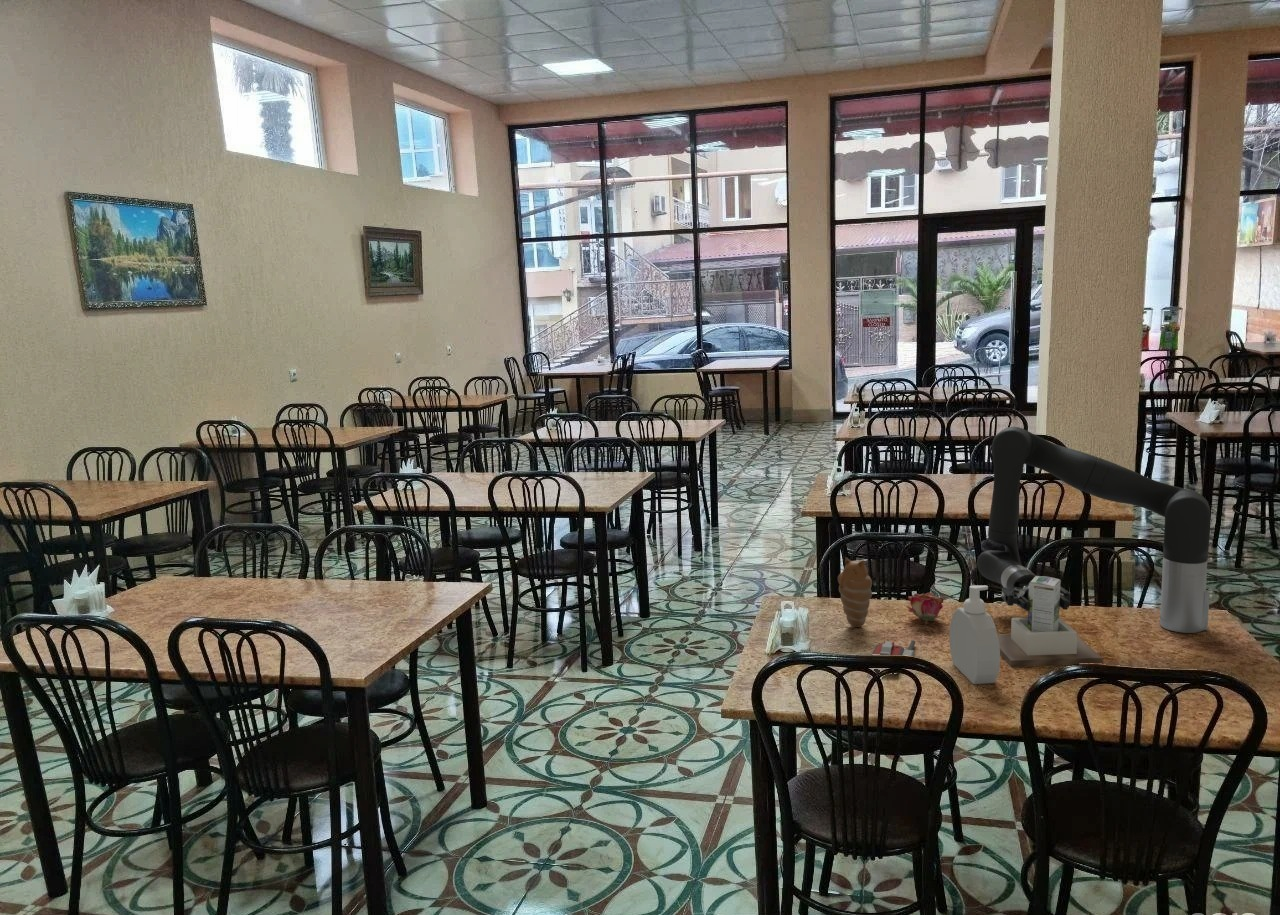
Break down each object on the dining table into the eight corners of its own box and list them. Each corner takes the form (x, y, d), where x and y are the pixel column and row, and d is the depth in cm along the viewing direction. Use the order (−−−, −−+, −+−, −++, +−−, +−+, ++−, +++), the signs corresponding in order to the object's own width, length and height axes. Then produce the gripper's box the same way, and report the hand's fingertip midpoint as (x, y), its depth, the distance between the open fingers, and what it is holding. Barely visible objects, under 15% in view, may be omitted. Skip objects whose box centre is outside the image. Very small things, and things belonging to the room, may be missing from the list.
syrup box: (1032, 633, 220) (1033, 574, 218) (1059, 638, 217) (1060, 578, 214) (1026, 642, 216) (1027, 581, 213) (1054, 646, 212) (1055, 585, 210)
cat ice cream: (833, 628, 238) (832, 559, 235) (848, 619, 244) (847, 552, 241) (864, 635, 232) (864, 565, 229) (879, 625, 238) (879, 557, 235)
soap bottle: (1001, 687, 199) (1003, 597, 196) (977, 689, 199) (978, 599, 195) (971, 658, 215) (972, 575, 211) (948, 660, 214) (949, 576, 211)
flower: (949, 622, 233) (949, 592, 236) (913, 617, 233) (913, 586, 236) (935, 632, 242) (935, 602, 245) (900, 626, 242) (901, 597, 245)
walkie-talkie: (906, 680, 206) (918, 647, 224) (906, 661, 205) (918, 629, 223) (866, 675, 209) (880, 643, 227) (866, 656, 208) (880, 626, 226)
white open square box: (1057, 636, 221) (1058, 616, 221) (1076, 653, 211) (1077, 632, 210) (1011, 638, 222) (1011, 617, 221) (1027, 655, 211) (1028, 634, 210)
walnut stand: (1072, 638, 224) (1072, 632, 224) (1102, 664, 208) (1102, 657, 208) (987, 640, 225) (987, 634, 225) (1010, 666, 209) (1011, 660, 209)
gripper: (992, 570, 228) (1015, 591, 212) (1051, 568, 228) (1079, 589, 212) (991, 599, 230) (1015, 623, 214) (1050, 597, 229) (1078, 620, 213)
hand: (1047, 606), depth 213 cm, fingers open, 8 cm apart
